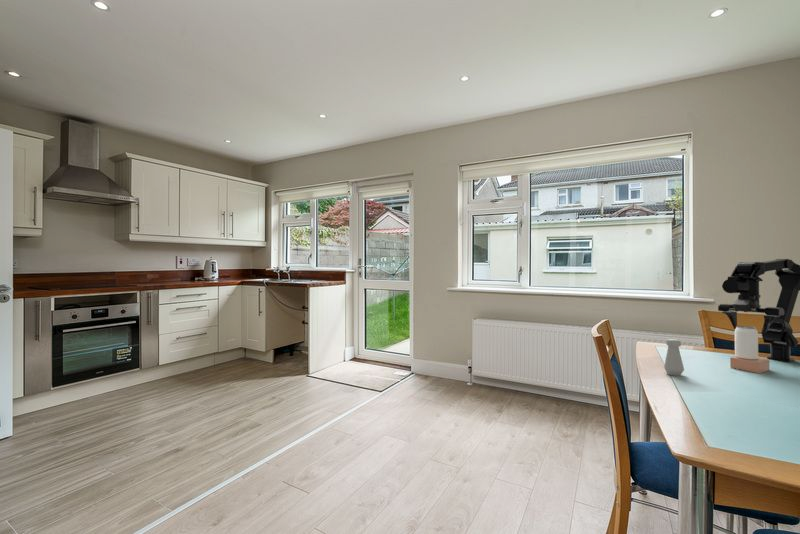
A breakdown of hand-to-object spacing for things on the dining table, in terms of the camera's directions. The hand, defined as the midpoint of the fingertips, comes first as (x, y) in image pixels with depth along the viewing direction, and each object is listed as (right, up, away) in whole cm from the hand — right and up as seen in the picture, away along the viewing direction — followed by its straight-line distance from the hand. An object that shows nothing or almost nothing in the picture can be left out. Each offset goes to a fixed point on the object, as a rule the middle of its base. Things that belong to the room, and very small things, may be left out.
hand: (749, 330), depth 145 cm
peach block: (-9, -13, -9) cm, 18 cm away
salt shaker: (-42, -14, -14) cm, 46 cm away
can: (-9, -9, -8) cm, 15 cm away
